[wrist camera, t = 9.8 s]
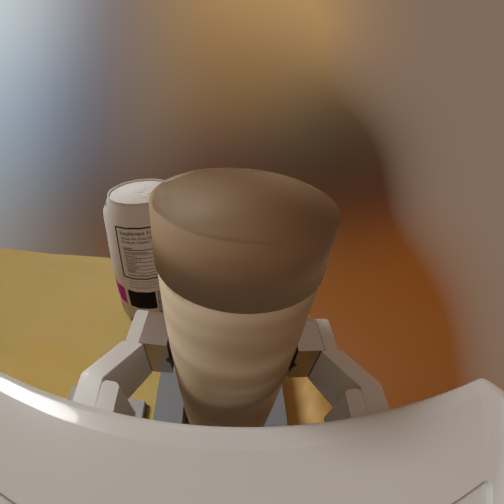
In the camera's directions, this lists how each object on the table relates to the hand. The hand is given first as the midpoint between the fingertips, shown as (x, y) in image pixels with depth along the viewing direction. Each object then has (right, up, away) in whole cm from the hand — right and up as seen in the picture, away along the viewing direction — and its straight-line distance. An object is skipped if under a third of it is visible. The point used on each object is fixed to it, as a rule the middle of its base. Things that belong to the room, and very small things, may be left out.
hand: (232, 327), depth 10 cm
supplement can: (-12, -4, +22) cm, 25 cm away
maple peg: (-1, -6, +3) cm, 7 cm away
